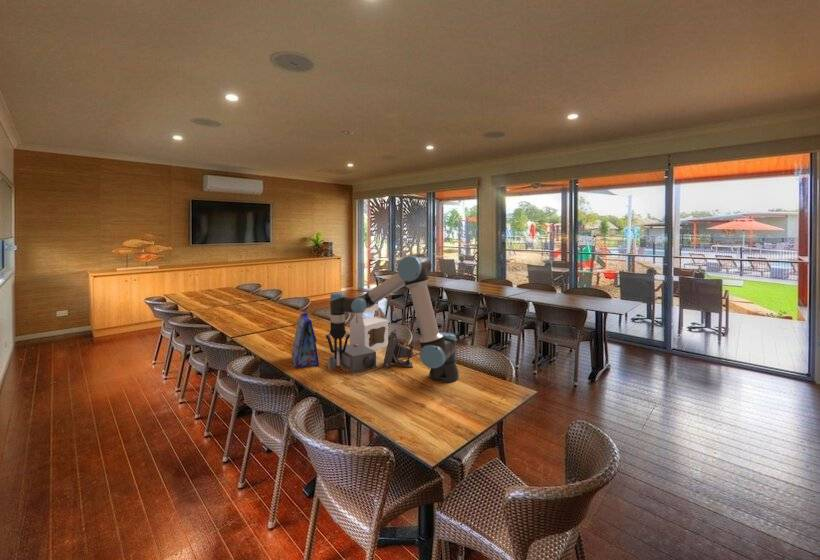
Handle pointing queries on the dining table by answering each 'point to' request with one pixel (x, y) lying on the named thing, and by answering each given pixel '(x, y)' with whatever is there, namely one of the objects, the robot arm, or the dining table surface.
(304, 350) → the lunch bag
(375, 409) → the dining table surface
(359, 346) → the box
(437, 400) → the dining table surface
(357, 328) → the gable box
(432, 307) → the robot arm
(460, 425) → the dining table surface
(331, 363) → the side door
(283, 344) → the dining table surface
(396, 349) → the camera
